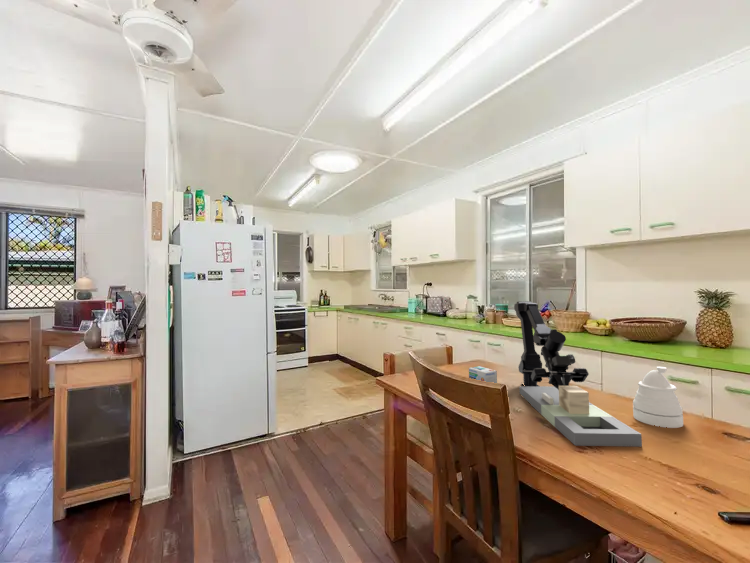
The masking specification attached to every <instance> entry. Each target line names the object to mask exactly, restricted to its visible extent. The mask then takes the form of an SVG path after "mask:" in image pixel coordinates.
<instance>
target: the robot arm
mask: <svg viewBox="0 0 750 563" xmlns="http://www.w3.org/2000/svg"><path fill="white" fill-rule="evenodd" d="M513 307H514V311H515V314H516V316H517V318H518V319H519V320H520V325H521V326H520V327H521V336H522V346H523V353H522V354H521V356H520V362H519V364H518V372H519V373H520V374H522V376H523V377H522V378H523V379H522V380H523V381H522V382H523V383H524V385H525V386H540V385H538V383H541V382H542V381H543V378H548V382H547V383H548V384H550V385H552V386H554V387H556V388H557V389H558V390H559V386H570V383H571V381H572V382H574V383H584V382H585V380H586V379H587V377H588V376H589V375H590V374H589V371H588V369H586V368H585V367H574V368H573V370H572V371H568V370H569V366H572V365H574V364H575V363H576V359H575V356H574V354H572V353H571V354H570V353H569V354H566V355H560V353H559V352H560V351H562V348H563V347H564V344H565V342H566V341H567V337H566V336H565V335H564V334H563V333H562V332H560V331H558V330H557V329H556V328H555V329H552V328H550V327H549V326H547V325H546V323H545V321H544V319H543V317H542V314H541V311H540V310H539V305H538V303H537V302H532V301H531V300H529V301H528V300H525V301H524V300H523V301H522V300H521V301H519V300H518V301H516V303H514V306H513ZM535 346H538V347H541V350H540V354H539V353H537V351H536V348H535ZM541 356H542V357H543V359H544V363H545V365H544V366H545V368H543V362H542V360H541ZM546 368H547V370H546Z"/></svg>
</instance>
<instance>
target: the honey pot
mask: <svg viewBox="0 0 750 563" xmlns="http://www.w3.org/2000/svg"><path fill="white" fill-rule="evenodd" d="M667 369H668V368H667V367H666V366H656V369H652V370H649V371H648V372H647V373H646V374H645V375H644V376H643V378H642V381H641V380H640V381H639V382H638V383H637V385H638V388H637V390H636V392H635V393H636V394H635V396H634V399H633V400H632V412H633V413H632V414H633V418H634V419H635V420H637V421H638V422H641V423H643V424H646V425H650V426H654V425H655V426H654V427H659V426H660V428H666V427H667V428H668V429H677V428H681V427H684V415H683V413H684V412H683V411H684V410H683V407H682V406H681V404H680V400H679V397H678V396H677V394H676V393H675V391H677V390H678V388H677V386H675V385H674V384H671V383H670V382H669V380H668V378H667V377H666V376H665V375H664V374H665V373H666V372H667Z"/></svg>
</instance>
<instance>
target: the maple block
mask: <svg viewBox="0 0 750 563" xmlns="http://www.w3.org/2000/svg"><path fill="white" fill-rule="evenodd" d="M589 402H590V398H589V392H588V391H587V390H585V389H583V388H581V386H580V387H579V386H578V385H569V386H559V406H561V407H562V408H563V409H565V410H566V411H567V412H569V413H570V414H589Z"/></svg>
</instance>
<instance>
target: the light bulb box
mask: <svg viewBox="0 0 750 563" xmlns="http://www.w3.org/2000/svg"><path fill="white" fill-rule="evenodd" d="M469 378H471V379H476V380H481V381H486V382H494V383H497V384H498V372H497V370H495V369H491V368H488V367H483V366H480V365H479V366H473V367H468V379H469Z"/></svg>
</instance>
